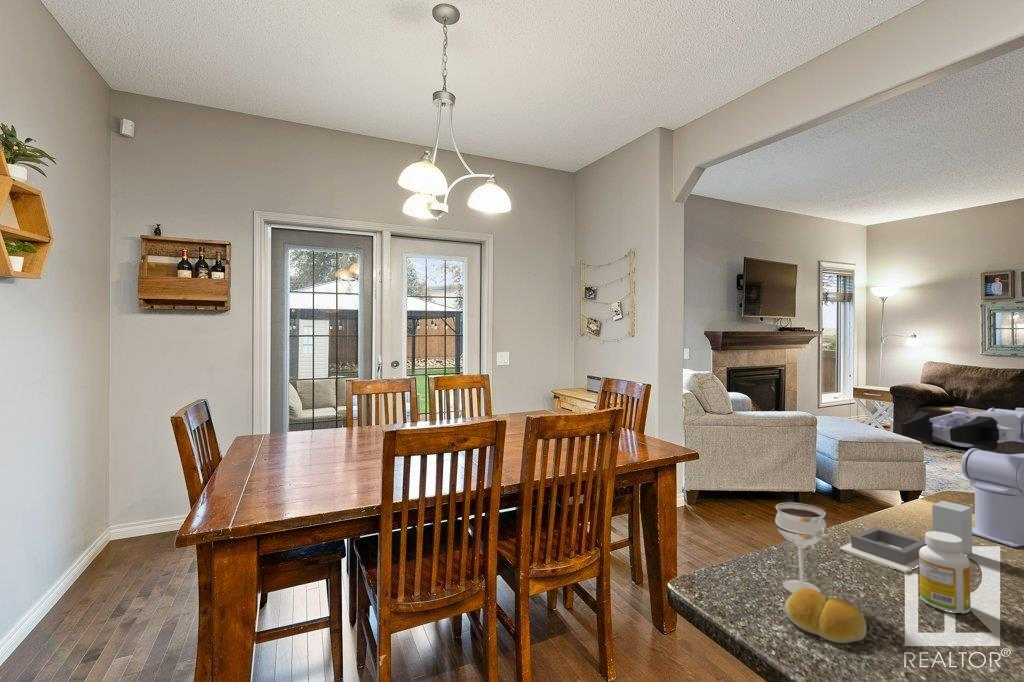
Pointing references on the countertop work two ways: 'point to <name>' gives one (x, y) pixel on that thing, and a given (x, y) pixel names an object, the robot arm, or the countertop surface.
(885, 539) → the dock
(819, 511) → the wineglass
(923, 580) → the supplement bottle
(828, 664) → the countertop surface
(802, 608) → the bread roll
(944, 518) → the block
